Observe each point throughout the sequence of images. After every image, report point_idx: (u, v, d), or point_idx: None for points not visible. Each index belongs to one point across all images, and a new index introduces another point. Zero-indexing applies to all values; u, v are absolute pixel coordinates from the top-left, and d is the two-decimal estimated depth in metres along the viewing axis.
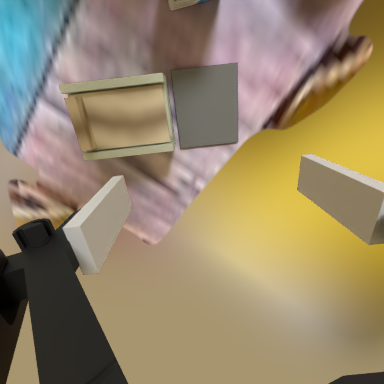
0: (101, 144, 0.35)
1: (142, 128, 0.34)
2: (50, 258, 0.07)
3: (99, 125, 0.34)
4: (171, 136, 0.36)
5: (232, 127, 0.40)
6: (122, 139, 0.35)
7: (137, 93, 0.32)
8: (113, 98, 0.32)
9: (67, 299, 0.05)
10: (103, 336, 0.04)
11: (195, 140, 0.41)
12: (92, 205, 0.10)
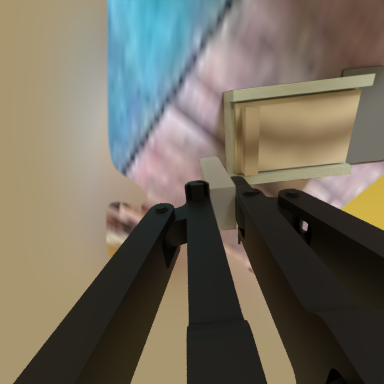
0: (258, 165, 0.27)
1: (316, 146, 0.26)
2: (203, 213, 0.09)
3: (263, 142, 0.26)
4: None
5: None
6: (287, 158, 0.27)
7: (326, 101, 0.24)
8: (293, 107, 0.24)
9: (211, 249, 0.06)
10: (235, 293, 0.05)
11: None
12: (211, 176, 0.12)
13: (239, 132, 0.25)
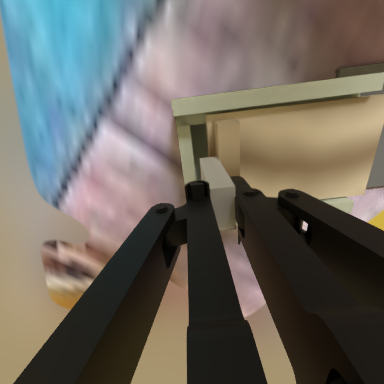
0: None
1: (324, 173, 0.19)
2: (203, 213, 0.09)
3: (249, 168, 0.18)
4: None
5: None
6: None
7: (339, 111, 0.16)
8: (291, 120, 0.17)
9: (211, 249, 0.06)
10: (235, 293, 0.05)
11: None
12: (211, 176, 0.12)
13: (213, 155, 0.18)
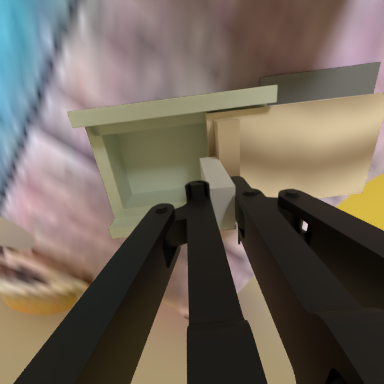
0: None
1: (323, 172, 0.19)
2: (203, 213, 0.09)
3: (249, 167, 0.18)
4: None
5: None
6: (282, 189, 0.19)
7: (338, 109, 0.16)
8: (291, 119, 0.17)
9: (212, 249, 0.06)
10: (235, 293, 0.05)
11: None
12: (211, 176, 0.12)
13: (213, 154, 0.18)
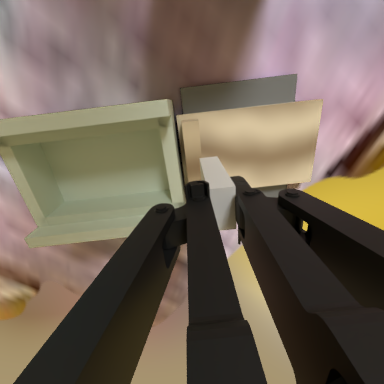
0: None
1: (275, 163, 0.23)
2: (203, 213, 0.09)
3: None
4: (181, 202, 0.21)
5: None
6: None
7: (282, 112, 0.20)
8: (244, 120, 0.21)
9: (211, 249, 0.06)
10: (235, 293, 0.05)
11: None
12: (211, 176, 0.12)
13: (183, 148, 0.22)
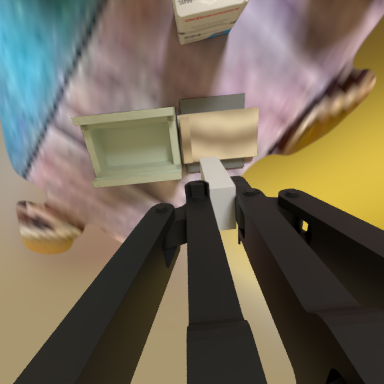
0: (196, 157, 0.39)
1: (234, 144, 0.39)
2: (203, 213, 0.09)
3: (198, 141, 0.38)
4: (179, 164, 0.37)
5: None
6: (215, 152, 0.39)
7: (236, 114, 0.36)
8: (215, 118, 0.37)
9: (211, 249, 0.06)
10: (235, 293, 0.05)
11: None
12: (211, 176, 0.12)
13: (181, 134, 0.38)
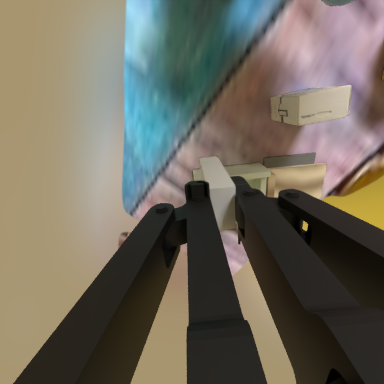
0: None
1: (304, 190, 0.49)
2: (203, 213, 0.09)
3: (276, 188, 0.48)
4: None
5: None
6: None
7: (309, 169, 0.47)
8: (292, 172, 0.47)
9: (211, 249, 0.06)
10: (235, 293, 0.05)
11: None
12: (211, 176, 0.12)
13: None
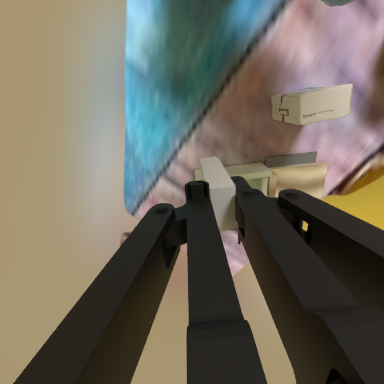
0: None
1: (305, 189, 0.49)
2: (203, 213, 0.09)
3: (277, 187, 0.48)
4: None
5: None
6: None
7: (310, 168, 0.47)
8: (293, 171, 0.47)
9: (211, 249, 0.06)
10: (235, 293, 0.05)
11: None
12: (211, 176, 0.12)
13: None
